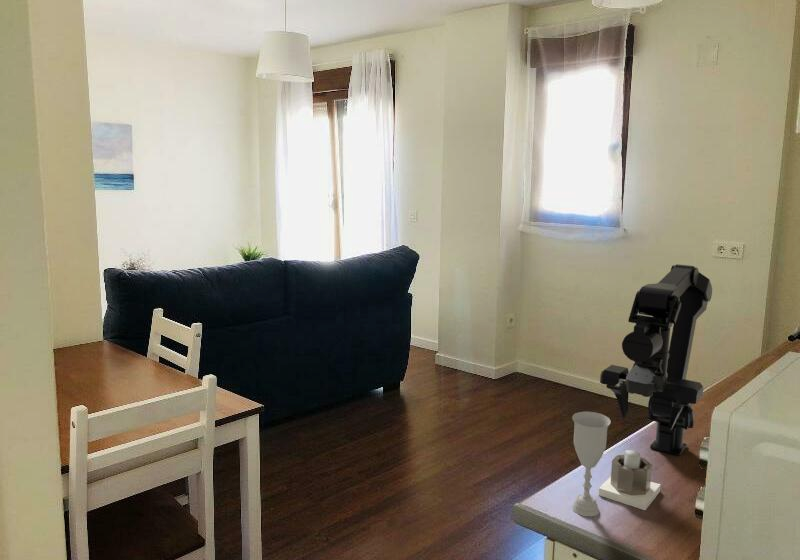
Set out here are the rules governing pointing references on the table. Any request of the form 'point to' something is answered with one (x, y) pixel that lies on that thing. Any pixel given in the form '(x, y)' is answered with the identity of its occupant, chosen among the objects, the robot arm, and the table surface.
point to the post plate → (635, 500)
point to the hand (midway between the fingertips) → (647, 423)
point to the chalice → (589, 454)
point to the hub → (631, 476)
